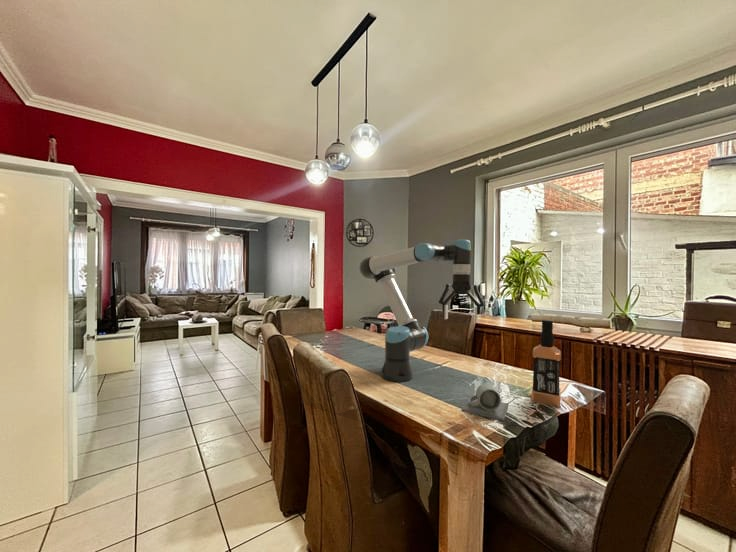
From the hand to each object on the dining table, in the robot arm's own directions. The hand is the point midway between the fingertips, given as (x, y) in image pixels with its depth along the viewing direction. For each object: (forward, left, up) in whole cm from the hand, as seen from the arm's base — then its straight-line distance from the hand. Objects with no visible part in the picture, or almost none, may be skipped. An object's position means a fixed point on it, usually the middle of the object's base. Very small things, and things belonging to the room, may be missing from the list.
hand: (460, 320), depth 139 cm
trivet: (+15, -21, -29) cm, 39 cm away
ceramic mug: (+14, -22, -28) cm, 38 cm away
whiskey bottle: (+34, 0, -29) cm, 45 cm away
